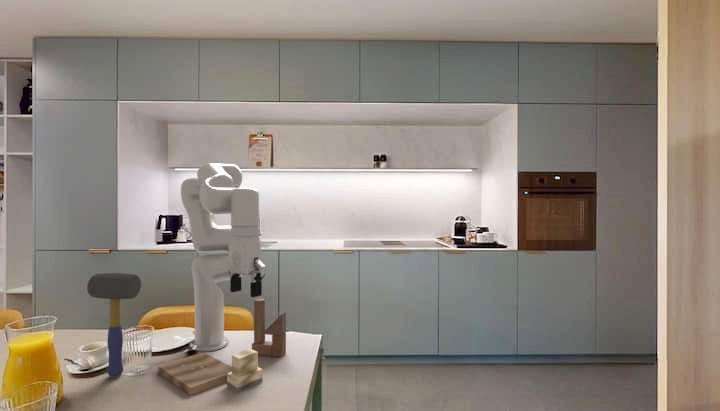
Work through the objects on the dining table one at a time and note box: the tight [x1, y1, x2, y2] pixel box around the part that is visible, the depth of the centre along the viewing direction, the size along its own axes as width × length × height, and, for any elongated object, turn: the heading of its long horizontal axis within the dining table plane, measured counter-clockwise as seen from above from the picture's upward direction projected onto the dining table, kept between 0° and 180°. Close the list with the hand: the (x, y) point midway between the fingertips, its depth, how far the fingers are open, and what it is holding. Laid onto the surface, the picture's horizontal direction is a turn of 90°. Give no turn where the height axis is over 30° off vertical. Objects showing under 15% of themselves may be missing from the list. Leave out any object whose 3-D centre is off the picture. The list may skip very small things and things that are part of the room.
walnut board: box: [157, 351, 232, 396], centre depth 115 cm, size 20×14×2 cm
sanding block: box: [226, 348, 263, 393], centre depth 109 cm, size 8×5×9 cm, turn 140°
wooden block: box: [251, 297, 287, 358], centre depth 130 cm, size 4×11×18 cm, turn 78°
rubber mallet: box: [86, 272, 142, 378], centre depth 113 cm, size 12×8×30 cm, turn 84°
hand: (245, 293), depth 109 cm, fingers open, 9 cm apart
